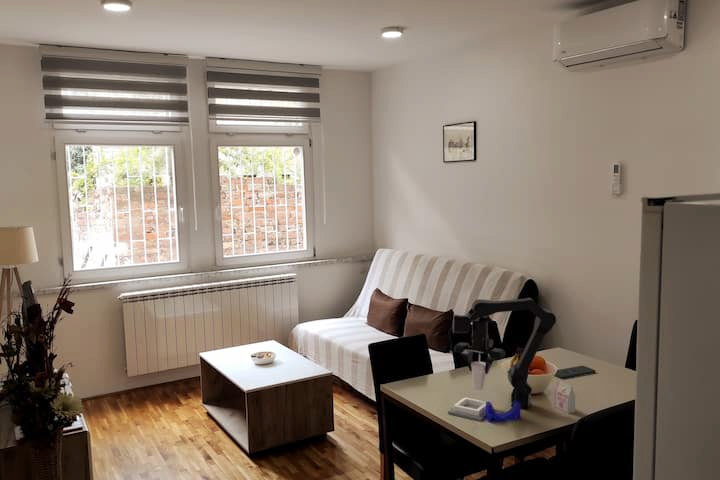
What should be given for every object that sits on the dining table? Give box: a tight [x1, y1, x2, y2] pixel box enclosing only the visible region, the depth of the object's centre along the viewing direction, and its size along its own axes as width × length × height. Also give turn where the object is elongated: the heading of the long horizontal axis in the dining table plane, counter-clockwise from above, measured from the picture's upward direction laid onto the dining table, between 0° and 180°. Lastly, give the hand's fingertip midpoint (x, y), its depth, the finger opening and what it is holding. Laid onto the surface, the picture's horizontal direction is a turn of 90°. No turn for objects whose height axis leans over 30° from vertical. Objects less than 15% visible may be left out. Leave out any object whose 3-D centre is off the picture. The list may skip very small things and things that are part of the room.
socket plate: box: [447, 396, 495, 422], centre depth 224 cm, size 13×13×3 cm
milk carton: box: [553, 381, 576, 414], centre depth 225 cm, size 4×7×10 cm, turn 26°
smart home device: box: [554, 365, 596, 380], centre depth 267 cm, size 8×2×20 cm
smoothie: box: [471, 353, 487, 391], centre depth 229 cm, size 6×6×14 cm
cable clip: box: [485, 401, 522, 423], centre depth 217 cm, size 12×4×6 cm, turn 93°
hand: (479, 372), depth 229 cm, fingers closed on smoothie, 6 cm apart
